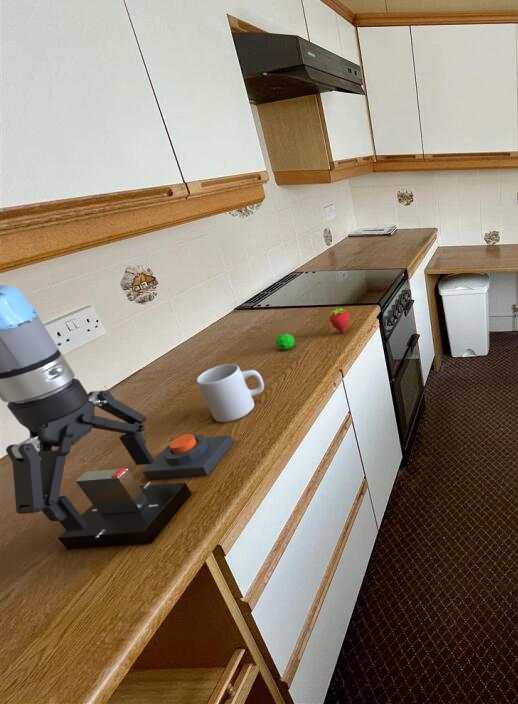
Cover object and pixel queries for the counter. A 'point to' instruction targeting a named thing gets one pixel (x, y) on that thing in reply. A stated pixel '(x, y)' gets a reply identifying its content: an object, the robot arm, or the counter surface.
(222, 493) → the counter surface
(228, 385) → the mug
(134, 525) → the panel
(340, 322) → the strawberry
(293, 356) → the counter surface
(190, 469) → the button box
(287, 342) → the polyhedron
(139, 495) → the grey metallic block
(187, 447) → the button
